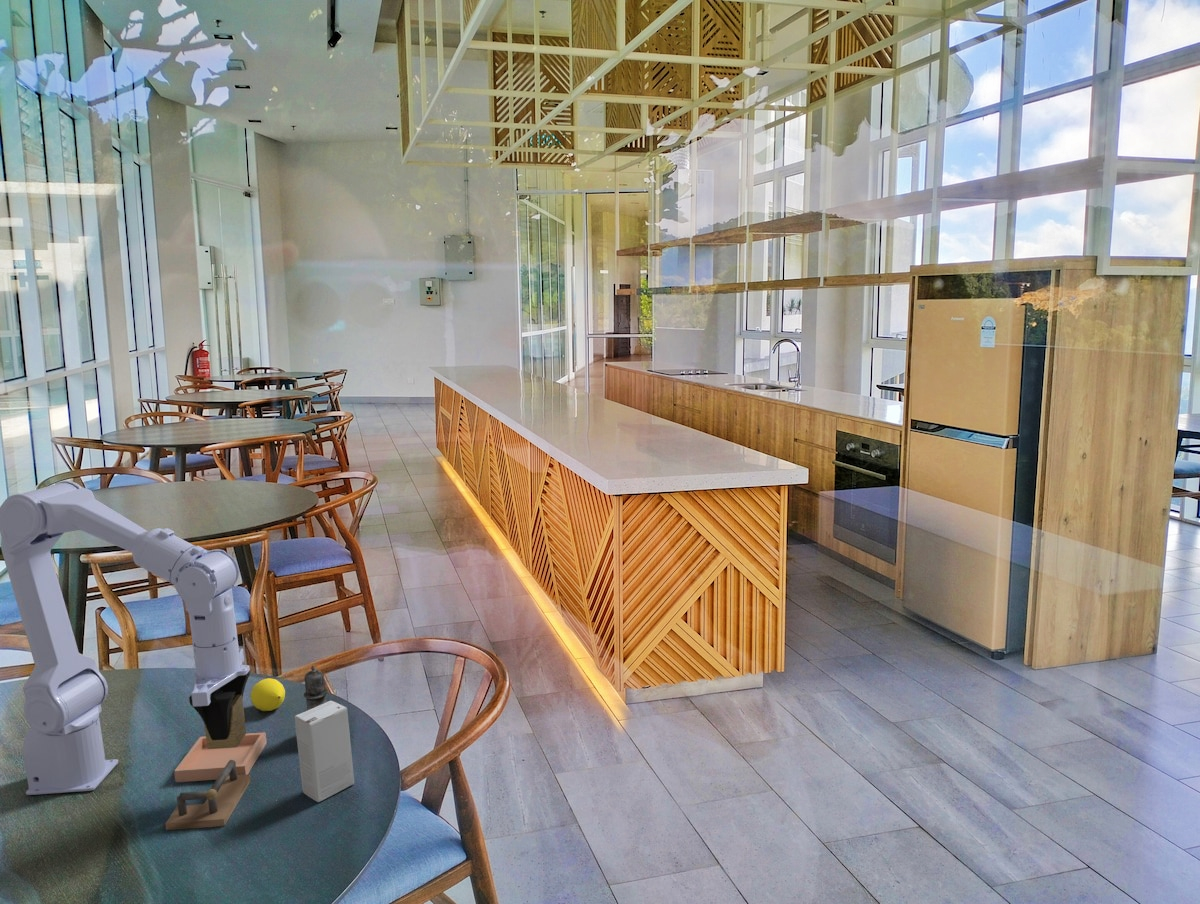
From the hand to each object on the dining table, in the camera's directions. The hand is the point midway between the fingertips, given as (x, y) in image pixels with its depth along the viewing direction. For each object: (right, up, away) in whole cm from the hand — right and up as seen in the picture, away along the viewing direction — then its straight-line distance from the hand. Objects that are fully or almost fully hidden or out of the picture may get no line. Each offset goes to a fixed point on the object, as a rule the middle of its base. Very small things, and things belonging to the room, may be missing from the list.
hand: (225, 730), depth 122 cm
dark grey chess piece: (+8, -6, +16) cm, 19 cm away
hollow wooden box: (0, -2, 0) cm, 2 cm away
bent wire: (-1, -9, -2) cm, 10 cm away
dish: (-4, -8, +9) cm, 12 cm away
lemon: (-4, -5, +26) cm, 26 cm away
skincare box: (+14, -9, 0) cm, 17 cm away
